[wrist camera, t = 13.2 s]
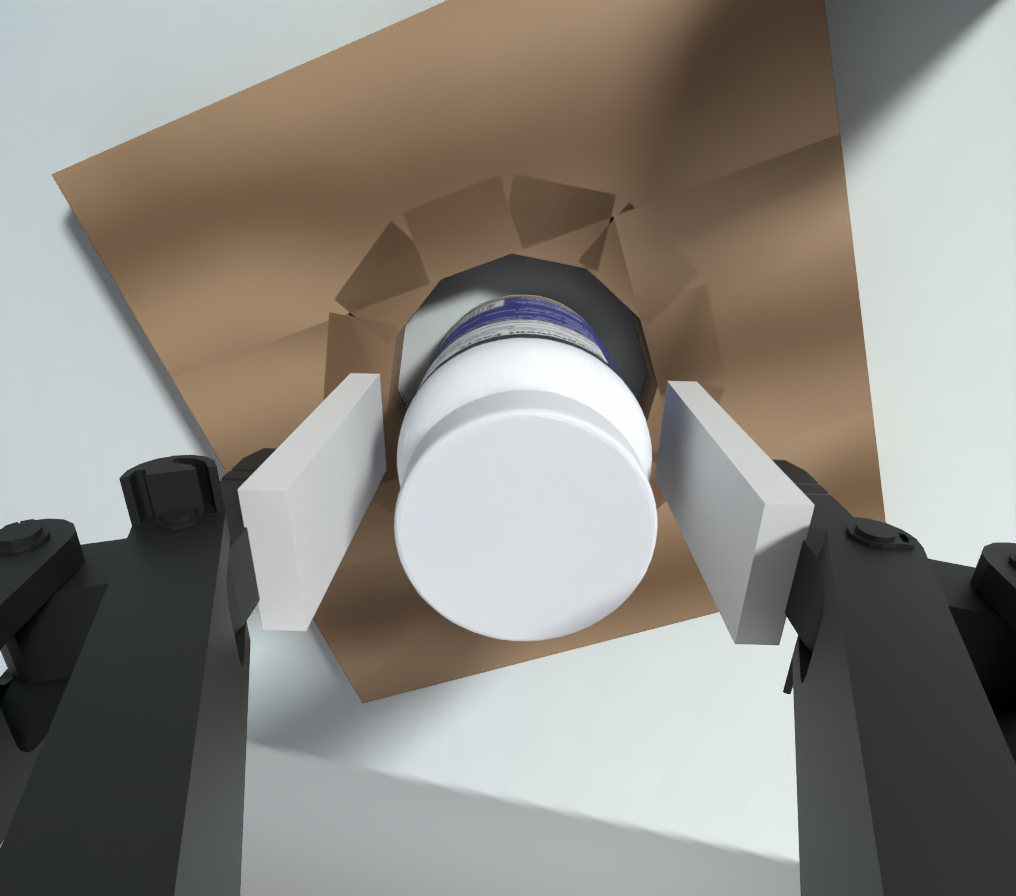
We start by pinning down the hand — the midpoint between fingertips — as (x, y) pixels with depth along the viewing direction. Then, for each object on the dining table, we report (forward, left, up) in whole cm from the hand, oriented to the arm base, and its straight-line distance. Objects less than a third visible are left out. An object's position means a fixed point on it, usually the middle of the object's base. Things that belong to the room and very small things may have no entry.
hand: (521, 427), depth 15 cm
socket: (0, 0, -4) cm, 4 cm away
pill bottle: (0, 0, -5) cm, 5 cm away
